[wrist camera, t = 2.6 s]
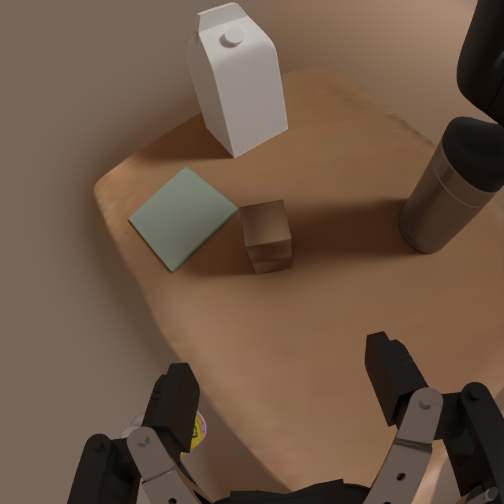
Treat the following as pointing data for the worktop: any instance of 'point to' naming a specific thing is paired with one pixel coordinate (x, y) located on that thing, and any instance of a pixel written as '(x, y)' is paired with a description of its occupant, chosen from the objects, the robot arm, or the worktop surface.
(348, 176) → the worktop surface
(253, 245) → the walnut block
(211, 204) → the sage board
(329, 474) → the worktop surface
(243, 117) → the milk
